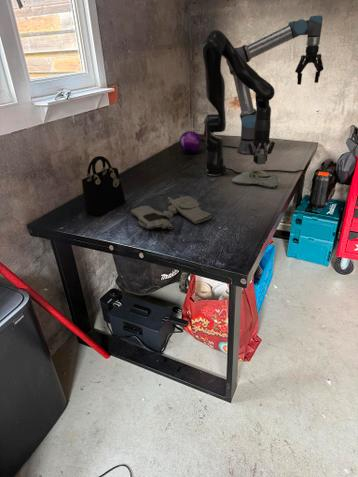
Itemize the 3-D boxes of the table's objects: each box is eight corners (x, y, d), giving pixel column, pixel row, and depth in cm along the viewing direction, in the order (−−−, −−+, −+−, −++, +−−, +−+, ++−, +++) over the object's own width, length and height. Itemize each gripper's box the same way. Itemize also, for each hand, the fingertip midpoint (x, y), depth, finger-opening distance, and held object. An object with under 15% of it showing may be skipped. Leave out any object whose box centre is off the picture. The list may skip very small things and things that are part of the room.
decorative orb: (204, 151, 235) (204, 129, 228) (194, 156, 225) (193, 134, 217) (186, 149, 243) (186, 128, 235) (175, 154, 232) (174, 132, 224)
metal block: (262, 161, 173) (263, 153, 171) (265, 164, 169) (266, 155, 167) (254, 162, 173) (255, 154, 171) (257, 164, 169) (258, 156, 167)
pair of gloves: (147, 237, 131) (146, 225, 129) (129, 213, 152) (128, 202, 149) (214, 220, 141) (214, 209, 138) (188, 199, 162) (188, 189, 159)
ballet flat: (235, 178, 184) (236, 165, 180) (279, 184, 173) (281, 170, 169) (230, 183, 177) (230, 169, 173) (275, 190, 166) (276, 175, 163)
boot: (217, 138, 265) (217, 112, 255) (214, 146, 244) (214, 118, 234) (206, 139, 266) (206, 112, 256) (202, 146, 246) (201, 118, 236)
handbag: (98, 217, 149) (87, 164, 137) (84, 214, 154) (72, 161, 141) (127, 201, 164) (120, 151, 152) (113, 198, 169) (105, 149, 156)
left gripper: (273, 125, 166) (270, 159, 175) (246, 127, 165) (244, 161, 174) (279, 128, 160) (275, 163, 168) (250, 131, 159) (248, 165, 167)
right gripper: (324, 44, 209) (319, 81, 220) (291, 47, 202) (288, 84, 213) (333, 44, 203) (327, 82, 214) (300, 46, 196) (295, 85, 207)
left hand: (259, 162), depth 171 cm, fingers closed on metal block, 4 cm apart
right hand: (307, 83), depth 213 cm, fingers open, 13 cm apart
